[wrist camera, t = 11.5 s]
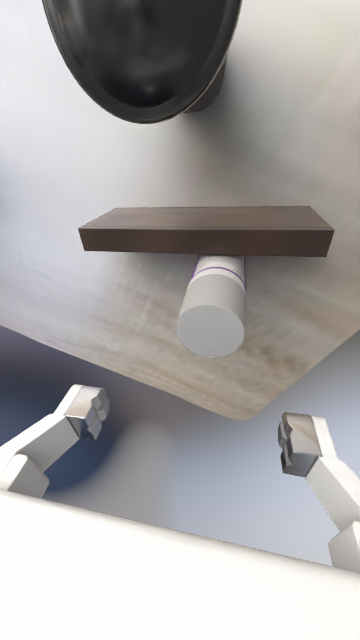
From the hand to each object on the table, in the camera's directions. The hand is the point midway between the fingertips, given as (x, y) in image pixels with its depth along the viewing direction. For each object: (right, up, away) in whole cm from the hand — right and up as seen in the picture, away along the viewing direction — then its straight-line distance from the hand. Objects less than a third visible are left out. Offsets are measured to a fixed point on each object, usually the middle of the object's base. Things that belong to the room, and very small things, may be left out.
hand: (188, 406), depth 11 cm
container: (+5, +12, +16) cm, 21 cm away
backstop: (+2, +15, +14) cm, 21 cm away
